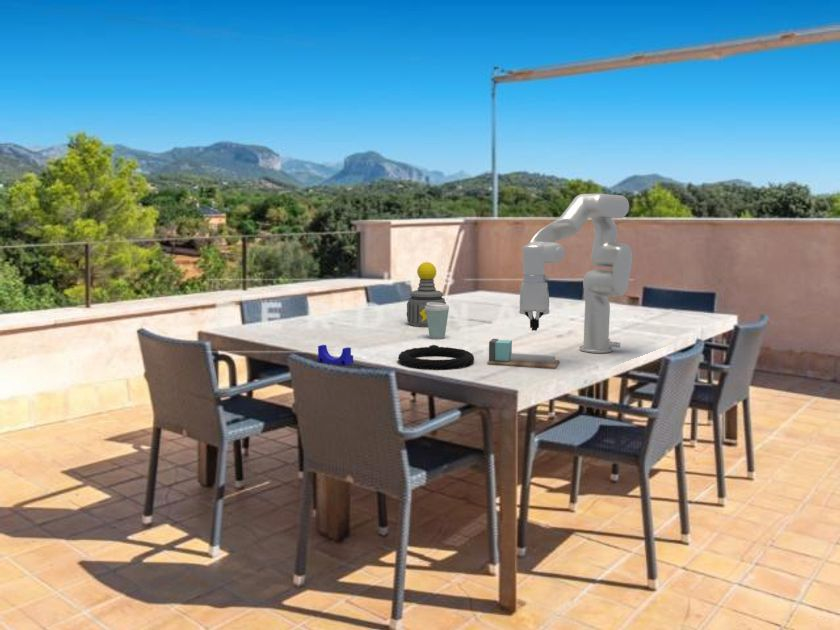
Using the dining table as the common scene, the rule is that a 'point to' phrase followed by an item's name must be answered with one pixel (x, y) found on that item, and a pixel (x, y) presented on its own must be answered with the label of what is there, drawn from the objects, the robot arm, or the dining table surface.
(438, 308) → the disposable coffee cup
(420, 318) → the decorative lamp
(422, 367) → the cable lock
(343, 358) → the cable clip
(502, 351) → the slider
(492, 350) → the stop
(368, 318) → the dining table surface
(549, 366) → the board
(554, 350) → the dining table surface
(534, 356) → the rail
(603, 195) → the robot arm
